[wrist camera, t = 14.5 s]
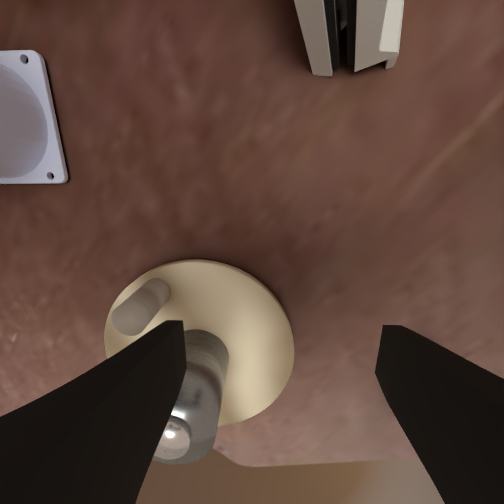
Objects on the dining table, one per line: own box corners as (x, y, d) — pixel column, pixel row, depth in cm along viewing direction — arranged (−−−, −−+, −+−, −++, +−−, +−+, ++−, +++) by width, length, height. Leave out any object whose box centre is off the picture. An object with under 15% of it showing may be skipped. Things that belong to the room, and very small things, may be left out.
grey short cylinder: (193, 392, 20) (162, 488, 14) (153, 349, 19) (99, 432, 13) (241, 364, 19) (232, 453, 13) (202, 317, 18) (171, 389, 12)
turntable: (173, 436, 23) (150, 503, 18) (75, 308, 19) (13, 348, 15) (321, 381, 21) (340, 441, 16) (239, 224, 17) (230, 240, 12)
